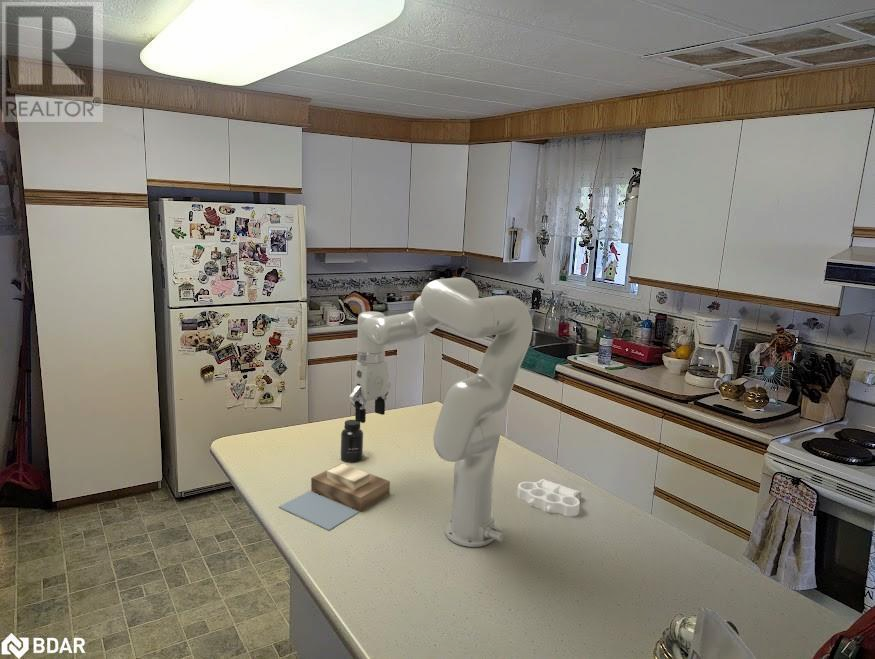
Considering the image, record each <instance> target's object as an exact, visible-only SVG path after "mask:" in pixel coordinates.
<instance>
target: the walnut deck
mask: <svg viewBox="0 0 875 659" xmlns="http://www.w3.org/2000/svg"><path fill="white" fill-rule="evenodd" d="M340 464H343V463H341V462H340V463H339V464H337V465H334V466H333V467H331V468H328V469H327V470H324V471H323V472H321V473H318V474H316V475H315V476H314V475H313V476H312V477H310V478H311V479H310V480H311V482H310V484H311V485H310V487H311V488H310V491H312V492H314V493H316V494H320V495H321V496H323V497H326V498H328V499H331V500H333V501H335V502H338V503H340V504H342V505H345V506H347V507H350V508H353V509H354V510H357V511H359V513H360V512H362V510H363V511H365V510H366V509H367V507H368V508H369V507H371V506H372V505H374V504H376V503H377V502H379V501H381V500H382V498H383V499H384V498H386V497H387V495H388V496H389V495H390V487H391V486H390V485H391V484H390V483H391V481H390V480H387V479H385V478H382V477H379V476H378V475H374V474H371V473H369V482H368V483H367V484H365V485H363V486H361V487H359V488H357V489H356V490H352V489H350V488H347V487H345V486H342V485H340V484H337V483H335V482H332V481H330V480H327V471H328V470H330V469H332V468H334V467H336V466H338V465H340ZM346 465H347V466H349V465H348V464H346ZM354 468H355V469H358V468H356V467H354ZM358 470H360V469H358ZM362 471H363V472H366V471H364V470H362ZM366 473H368V472H366Z"/></svg>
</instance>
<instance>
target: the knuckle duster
mask: <svg viewBox="0 0 875 659" xmlns="http://www.w3.org/2000/svg"><path fill="white" fill-rule="evenodd" d="M516 496H517V498H518V499H519V500H523V501H526V502H527V503H528V505H529V506H532V507H534V508H537V509H541V510H543V511H544V512H547V513H551V514H560V515H563V516H565V517H576V516H578V515H579V514H580V506H581V503H580V502H581V501H580V498H581V496H582V492H581V491H580V490H577V489H573V488H571V487H570V488H569V487H568V486H564V485H562V484H561V483H560V484H559V483H555V482H553V481H550V480H546V479H545V478H541V479H540V480H538V481H536V482H533V481H522V482H520V483H518V485H517V495H516Z"/></svg>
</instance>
